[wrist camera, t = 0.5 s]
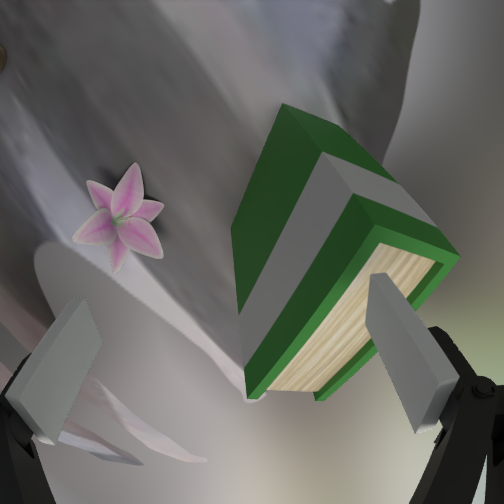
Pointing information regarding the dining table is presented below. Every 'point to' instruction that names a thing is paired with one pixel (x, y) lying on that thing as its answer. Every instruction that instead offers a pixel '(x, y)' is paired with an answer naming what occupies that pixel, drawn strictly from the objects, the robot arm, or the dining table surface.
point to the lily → (122, 219)
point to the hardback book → (322, 255)
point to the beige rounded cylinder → (2, 58)
